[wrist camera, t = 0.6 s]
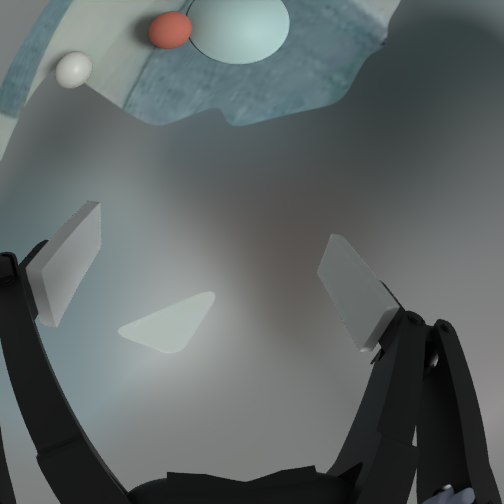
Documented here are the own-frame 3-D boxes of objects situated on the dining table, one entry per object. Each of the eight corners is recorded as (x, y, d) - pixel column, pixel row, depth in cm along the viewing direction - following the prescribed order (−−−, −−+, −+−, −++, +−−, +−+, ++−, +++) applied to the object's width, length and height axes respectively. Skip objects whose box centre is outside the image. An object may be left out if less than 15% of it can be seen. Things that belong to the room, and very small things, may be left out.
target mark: (209, -28, 23) (209, -29, 23) (302, 2, 27) (302, 2, 27) (171, 49, 29) (171, 48, 29) (268, 78, 33) (268, 77, 33)
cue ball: (72, 52, 26) (55, 48, 21) (103, 55, 27) (88, 49, 22) (61, 87, 28) (43, 87, 23) (91, 90, 29) (75, 90, 25)
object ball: (162, 15, 26) (154, 3, 21) (199, 22, 27) (197, 10, 23) (147, 48, 28) (137, 40, 23) (184, 55, 30) (180, 48, 25)
